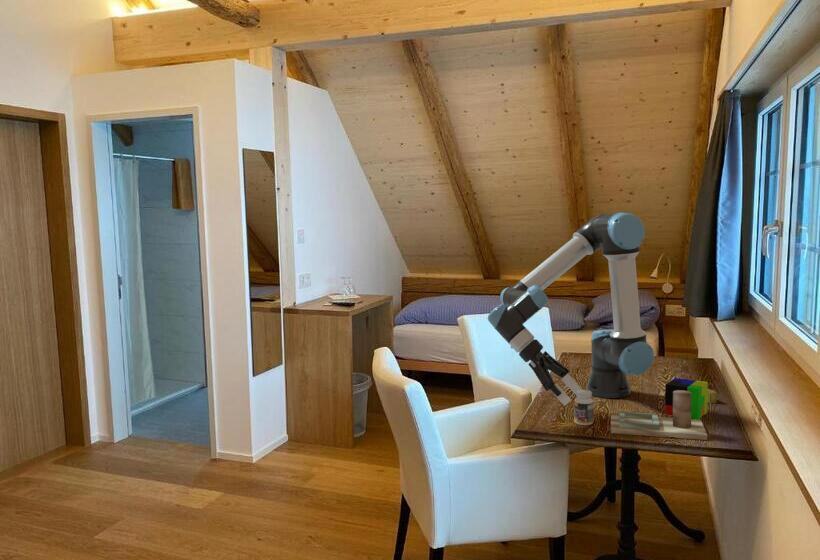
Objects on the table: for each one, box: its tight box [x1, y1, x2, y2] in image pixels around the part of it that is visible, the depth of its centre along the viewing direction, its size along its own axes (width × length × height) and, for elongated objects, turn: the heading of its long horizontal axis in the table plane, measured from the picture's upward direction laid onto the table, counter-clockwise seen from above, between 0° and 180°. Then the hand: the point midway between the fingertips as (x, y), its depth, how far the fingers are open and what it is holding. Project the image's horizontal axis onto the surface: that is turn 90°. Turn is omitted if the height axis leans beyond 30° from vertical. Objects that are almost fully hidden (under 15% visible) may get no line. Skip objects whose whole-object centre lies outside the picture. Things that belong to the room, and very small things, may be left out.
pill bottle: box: [573, 389, 594, 426], centre depth 198 cm, size 6×6×10 cm
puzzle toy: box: [664, 377, 709, 420], centre depth 205 cm, size 10×10×10 cm
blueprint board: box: [610, 390, 708, 441], centre depth 191 cm, size 14×26×12 cm, turn 72°
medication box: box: [707, 388, 718, 404], centre depth 222 cm, size 12×3×4 cm, turn 12°
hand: (573, 397), depth 199 cm, fingers open, 13 cm apart
